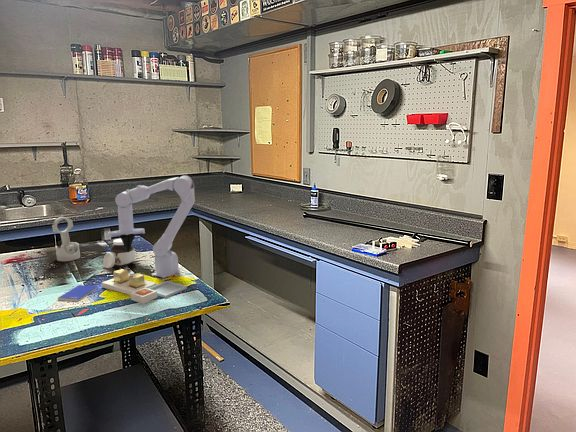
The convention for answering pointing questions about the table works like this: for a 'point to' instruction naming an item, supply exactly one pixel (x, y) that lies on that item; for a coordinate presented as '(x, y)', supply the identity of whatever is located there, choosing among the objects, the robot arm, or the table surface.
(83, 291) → the hard drive
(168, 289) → the tray
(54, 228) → the engine component
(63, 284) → the table surface
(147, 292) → the button
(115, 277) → the block
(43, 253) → the table surface
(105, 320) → the table surface
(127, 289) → the frame
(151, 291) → the button housing
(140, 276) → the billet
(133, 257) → the spread jar
